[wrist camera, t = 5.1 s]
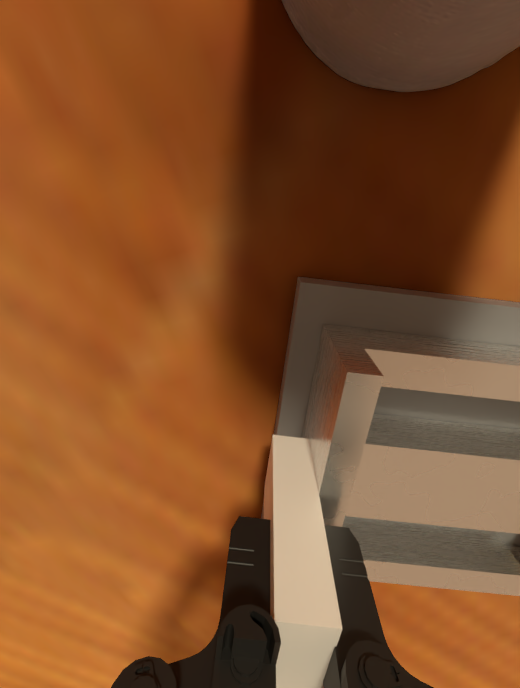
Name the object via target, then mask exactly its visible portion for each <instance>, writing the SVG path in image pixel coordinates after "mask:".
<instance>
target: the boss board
mask: <svg viewBox="0 0 520 688" xmlns="http://www.w3.org/2000/svg"><path fill="white" fill-rule="evenodd" d="M323 324H326V325H334V326H343V327H352V328H361V329H369V330H378V331H387V332H396V333H404V334H413V335H422V336H431V337H439V338H448V339H457V340H466V341H475V342H483V343H492V344H501V345H510V346H518V347H520V302H511V301H503V300H494V299H485V298H477V297H468V296H460V295H451V294H443V293H434V292H426V291H417V290H408V289H400V288H391V287H383V286H374V285H366V284H357V283H348V282H340V281H331V280H323V279H314V278H306V277H298V279H297V286H296V292H295V299H294V305H293V312H292V318H291V325H290V331H289V338H288V344H287V351H286V357H285V364H284V371H283V377H282V384H281V390H280V397H279V403H278V410H277V416H276V423H275V429H274V435H280V436H289V437H297V438H302V433H303V428H304V423H305V417H306V412H307V407H308V402H309V396H310V391H311V386H312V381H313V375H314V370H315V365H316V360H317V355H318V349H319V344H320V339H321V334H322V328H323ZM374 413H376V414H385V415H394V416H403V417H412V418H421V419H431V420H440V421H449V422H458V423H467V424H476V425H485V426H495V427H504V428H513V429H520V402H517V401H508V400H499V399H490V398H481V397H472V396H463V395H454V394H445V393H436V392H427V391H418V390H409V389H400V388H391V387H382V386H381V389H380V392H379V396H378V399H377V403H376V407H375V410H374ZM348 517H350V516H348ZM358 518H359V517H358ZM261 519H264V501H263V508H262V514H261ZM367 519H369V518H367ZM377 520H379V519H377ZM387 521H389V520H387ZM397 522H398V521H397ZM406 523H408V522H406ZM416 524H418V523H416ZM426 525H428V524H426ZM435 526H437V525H435ZM445 527H447V526H445ZM455 528H457V527H455ZM465 529H466V528H465ZM474 530H476V529H474ZM484 531H486V530H484ZM494 532H496V531H494ZM497 533H498V535H499V536H500V538H501V539H502V540H503V542H504V543H505V545H514V546H520V534H515V533H505V532H497Z"/></svg>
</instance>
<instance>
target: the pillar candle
mask: <svg viewBox="0 0 520 688" xmlns="http://www.w3.org/2000/svg"><path fill="white" fill-rule="evenodd" d="M282 2H283V5H284V7H285V9H286V11H287V13H288V16H289V18H290V20H291V21H292V23H293V25H294V27H295V28H296V30H297V31H298V33H299V34H300V35H301V37H302V39H303V40H304V42H305V44H306V45H307V46H308V47H309V48H310V49H311V51H312V52H313V53H314V54H315V55H316V56H317V57H318V58H319V59H320V60H321V61H323V62H324V63H325V64H326V65H327V66H328V67H329V68H330V69H331V70H333V71H334V72H335V73H336V74H338V75H339V76H341V77H343V78H345V79H347V80H348V81H351V82H353V83H356V84H359V85H362V86H365V87H371V88H378V89H384V90H390V91H395V92H414V91H424V90H431V89H437V88H441V87H445V86H448V85H451V84H454V83H456V82H458V81H460V80H462V79H464V78H467V77H470V76H471V75H473V74H475V73H476V72H478V71H480V70H481V69H483V68H487V67H489V66H491V65H493V64H494V63H496V62H497V61H499V60H500V59H501V58H502V57H504V56H505V55H507V54H508V53H510V52H512V51H513V50H515V49H516V48H518V47H520V0H282Z"/></svg>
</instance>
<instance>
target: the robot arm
mask: <svg viewBox="0 0 520 688" xmlns="http://www.w3.org/2000/svg"><path fill="white" fill-rule="evenodd" d="M367 576H368V575H367V571H366V567H365V564H364V560H363V556H362V553H361V549H360V545H359V543H358V541H357V540H356V538H355V537H354V535H353V534H352V532H351V531H350V529H349V528H347V527H339V526H330V525H324V520H323V514H322V508H321V503H320V497H319V491H318V486H317V480H316V475H315V469H314V464H313V458H312V453H311V448H310V442H309V439H306V438H297V437H289V436H280V435H273V436H272V442H271V448H270V455H269V461H268V467H267V474H266V480H265V486H264V519H260V518H251V517H242V516H239V518H238V520H237V521H236V523H235V525H234V526H233V528H232V529H231V536H230V544H229V552H228V560H227V568H226V576H225V584H224V592H223V600H222V608H221V616H220V622H219V626H218V629H217V632H216V634H215V636H214V638H213V639H212V641H211V642H210V643H209V644H208V646H207V647H206V648H204V649H203V650H202V651H201V652H200V653H198V654H196V655H194V656H191V657H189V658H186V659H183V660H180V661H177V662H174V663H170V664H167V663H166V662H164V661H163V660H162V659H161V658H155V657H149V656H148V657H145V658H142V659H138V660H135V661H134V662H133V663H131V664H130V665H129V666H128V667H126V668H125V669H124V670H123V671H122V672H121V674H120V675H119V676H118V678H117V679H116V681H115V682H114V683H113V685H112V687H111V688H323V687H324V688H433V687H431V686H429V685H427V684H425V683H423V682H421V681H420V680H418V679H417V678H415V677H413V676H412V675H410V674H409V673H408V672H407V671H406V670H405V669H404V668H403V667H402V666H401V665H400V664H399V663H398V661H397V660H396V659H395V658H394V656H393V654H392V653H391V651H390V649H389V647H388V645H387V643H386V640H385V637H384V634H383V630H382V627H381V623H380V619H379V616H378V612H377V608H376V604H375V601H374V597H373V593H372V590H371V586H370V582H369V579H368V577H367Z"/></svg>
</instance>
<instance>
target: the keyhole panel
mask: <svg viewBox="0 0 520 688" xmlns="http://www.w3.org/2000/svg"><path fill="white" fill-rule="evenodd" d="M381 386H382V387H391V388H400V389H409V390H418V391H427V392H436V393H445V394H454V395H463V396H472V397H481V398H490V399H499V400H508V401H517V402H520V347H518V346H510V345H501V344H492V343H483V342H475V341H466V340H457V339H448V338H439V337H431V336H422V335H413V334H404V333H396V332H387V331H378V330H369V329H361V328H352V327H343V326H334V325H326V324H323V328H322V334H321V339H320V344H319V349H318V355H317V360H316V365H315V370H314V375H313V381H312V386H311V391H310V396H309V402H308V407H307V412H306V417H305V423H304V428H303V433H302V438H306V439H309V442H310V448H311V453H312V458H313V464H314V469H315V475H316V480H317V486H318V491H319V497H320V503H321V508H322V514H323V520H324V525H330V526H339V527H347V528H349V529H350V531H351V532H352V534H353V535H354V537H355V538H356V540H357V541H358V543H359V545H360V549H361V553H362V556H363V560H364V564H365V567H366V571H367V575H368V576H367V577H368V579H369V581H374V582H384V583H394V584H404V585H414V586H424V587H434V588H444V589H454V590H464V591H475V592H485V593H495V594H505V595H515V596H520V546H514V545H505V543H504V542H503V540H502V539H501V538H500V536H499V535H498V533H497V532H505V533H515V534H520V429H513V428H504V427H495V426H485V425H476V424H467V423H458V422H449V421H440V420H431V419H421V418H412V417H403V416H394V415H385V414H376V413H374V410H375V407H376V403H377V399H378V396H379V392H380V389H381ZM348 516H350V517H348ZM358 517H359V518H358ZM367 518H369V519H367ZM377 519H379V520H377ZM387 520H389V521H387ZM397 521H398V522H397ZM406 522H408V523H406ZM416 523H418V524H416ZM426 524H428V525H426ZM435 525H437V526H435ZM445 526H447V527H445ZM455 527H457V528H455ZM465 528H466V529H465ZM474 529H476V530H474ZM484 530H486V531H484ZM494 531H496V532H494Z"/></svg>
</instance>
